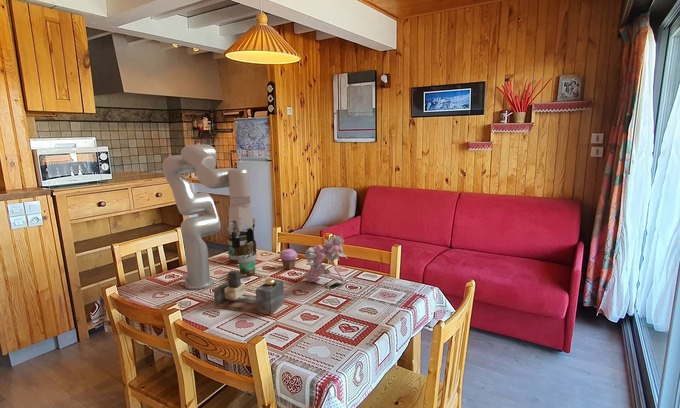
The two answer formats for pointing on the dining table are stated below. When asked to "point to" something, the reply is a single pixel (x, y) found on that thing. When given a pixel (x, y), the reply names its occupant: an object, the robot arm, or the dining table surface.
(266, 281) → the button
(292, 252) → the cupcake
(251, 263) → the food container
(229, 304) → the rail base
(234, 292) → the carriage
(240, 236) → the mug
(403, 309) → the dining table surface
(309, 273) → the flower
